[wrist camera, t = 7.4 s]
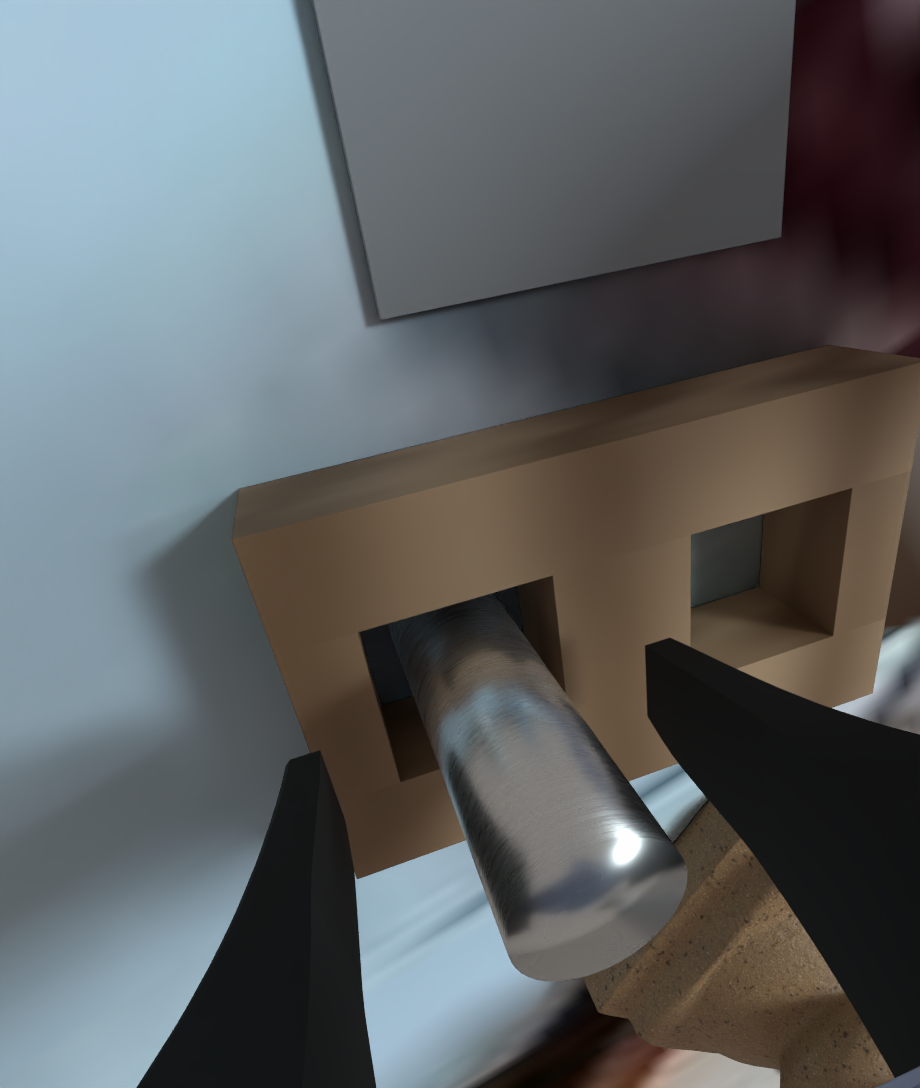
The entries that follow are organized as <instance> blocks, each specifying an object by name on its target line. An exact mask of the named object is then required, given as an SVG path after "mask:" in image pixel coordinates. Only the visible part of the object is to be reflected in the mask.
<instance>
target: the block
mask: <svg viewBox="0 0 920 1088" xmlns="http://www.w3.org/2000/svg"><path fill="white" fill-rule="evenodd" d="M919 423H920V358H914V357H907V356H900V355H893V354H887V353H880V352H873V351H866V350H860V349H853V348H846V347H840V346H833V345H826V346H822V347H818V348H814V349H810V350H806V351H802V352H797V353H793V354H789V355H785V356H781V357H777V358H773V359H769V360H765V361H761V362H757V363H752V364H748V365H744V366H740V367H736V368H732V369H728V370H724V371H720V372H716V373H712V374H707V375H703V376H699V377H695V378H691V379H687V380H683V381H679V382H675V383H671V384H666V385H662V386H658V387H654V388H650V389H646V390H642V391H638V392H634V393H630V394H626V395H621V396H617V397H613V398H609V399H605V400H601V401H597V402H593V403H589V404H585V405H581V406H576V407H572V408H568V409H564V410H560V411H556V412H552V413H548V414H544V415H540V416H535V417H531V418H527V419H523V420H519V421H515V422H511V423H507V424H503V425H499V426H495V427H490V428H486V429H482V430H478V431H474V432H470V433H466V434H462V435H458V436H454V437H450V438H445V439H441V440H437V441H433V442H429V443H425V444H421V445H417V446H413V447H409V448H405V449H400V450H396V451H392V452H388V453H384V454H380V455H376V456H372V457H368V458H364V459H359V460H355V461H351V462H347V463H343V464H339V465H335V466H331V467H327V468H323V469H319V470H314V471H310V472H306V473H302V474H298V475H294V476H290V477H286V478H282V479H278V480H274V481H269V482H265V483H261V484H257V485H253V486H249V487H245V488H241V489H239V492H238V499H237V506H236V513H235V520H234V527H233V534H232V542H233V545H234V548H235V550H236V553H237V556H238V558H239V561H240V564H241V566H242V569H243V572H244V575H245V577H246V580H247V583H248V585H249V588H250V591H251V594H252V596H253V599H254V602H255V604H256V607H257V610H258V612H259V615H260V618H261V621H262V623H263V626H264V629H265V631H266V634H267V637H268V639H269V642H270V645H271V648H272V650H273V653H274V656H275V658H276V661H277V664H278V666H279V669H280V672H281V675H282V677H283V680H284V683H285V685H286V688H287V691H288V694H289V696H290V699H291V702H292V704H293V707H294V710H295V712H296V715H297V718H298V721H299V723H300V726H301V729H302V731H303V734H304V737H305V739H306V742H307V745H308V748H309V750H310V753H313V752H316V751H319V750H320V751H321V754H322V756H323V759H324V762H325V765H326V768H327V770H328V773H329V776H330V779H331V782H332V784H333V787H334V790H335V793H336V795H337V798H338V801H339V804H340V807H341V809H342V812H343V815H344V818H345V821H346V826H347V832H348V837H349V843H350V848H351V854H352V860H353V866H354V872H355V875H356V877H357V879H359V878H362V877H365V876H368V875H371V874H373V873H376V872H379V871H382V870H384V869H387V868H390V867H393V866H395V865H398V864H401V863H404V862H407V861H409V860H412V859H415V858H418V857H420V856H423V855H426V854H429V853H431V852H434V851H437V850H440V849H443V848H445V847H448V846H451V845H454V844H456V843H459V842H462V841H465V840H466V839H465V836H464V833H463V830H462V828H461V825H460V822H459V819H458V817H457V814H456V811H455V809H454V806H453V803H452V800H451V798H450V795H449V792H448V789H447V787H446V784H445V781H444V779H443V776H442V773H441V770H440V768H439V765H438V762H437V760H436V757H435V754H434V751H433V749H432V746H431V743H430V740H429V738H428V735H427V732H426V730H425V727H424V724H423V721H422V719H421V716H420V713H419V710H418V708H417V705H416V702H415V700H414V697H413V696H411V697H408V698H405V699H402V700H398V701H395V702H392V703H389V704H386V705H382V706H381V702H380V699H379V695H378V692H377V688H376V685H375V681H374V678H373V674H372V671H371V668H370V664H369V661H368V657H367V654H366V650H365V647H364V643H363V640H362V636H361V633H360V632H361V631H364V630H368V629H371V628H375V627H378V626H381V625H385V624H388V623H392V622H395V621H399V620H402V619H405V618H409V617H412V616H416V615H419V614H423V613H426V612H429V611H433V610H436V609H440V608H443V607H446V606H450V605H453V604H457V603H460V602H464V601H467V600H470V599H474V598H477V597H481V596H484V595H487V594H491V593H494V592H498V591H501V590H505V589H508V588H511V587H515V586H517V591H518V598H519V605H520V612H521V619H522V626H523V633H524V636H525V637H526V639H527V640H528V642H529V643H530V644H531V646H532V647H533V649H534V650H535V651H536V653H537V654H538V656H539V657H540V658H541V660H542V661H543V663H544V664H545V665H546V667H547V668H548V670H549V671H550V672H551V674H552V675H553V677H554V678H555V679H556V681H557V682H558V684H559V685H560V686H561V688H562V689H563V691H564V692H565V693H566V695H567V696H568V698H569V699H570V700H571V702H572V703H573V705H574V706H575V707H576V709H577V710H578V712H579V713H580V714H581V716H582V717H583V719H584V720H585V721H586V723H587V724H588V726H589V727H590V728H591V730H592V731H593V733H594V734H595V735H596V737H597V738H598V740H599V741H600V742H601V744H602V745H603V747H604V748H605V749H606V751H607V752H608V753H609V755H610V756H611V758H612V759H613V760H614V762H615V763H616V765H617V766H618V767H619V769H620V770H621V772H622V773H623V774H624V776H625V777H626V779H627V780H628V781H631V780H634V779H636V778H639V777H642V776H645V775H647V774H650V773H653V772H656V771H658V770H661V769H664V768H667V767H669V766H672V765H675V764H678V762H677V761H676V760H675V758H674V757H673V756H672V754H671V753H670V751H669V750H668V748H667V747H666V745H665V744H664V742H663V741H662V739H661V738H660V736H659V734H658V733H657V731H656V729H655V728H654V726H653V725H652V723H651V721H650V720H649V718H648V717H647V691H646V663H645V645H648V644H651V643H654V642H657V641H661V640H664V639H667V638H672V639H674V640H677V641H679V642H681V643H683V644H685V645H688V646H690V647H692V648H694V649H696V650H698V651H700V652H702V653H704V654H706V655H709V656H711V657H713V658H715V659H717V660H719V661H721V662H723V663H725V664H727V665H730V666H732V667H734V668H736V669H738V670H740V671H742V672H745V673H747V674H749V675H751V676H753V677H756V678H758V679H760V680H762V681H765V682H767V683H769V684H771V685H774V686H776V687H779V688H781V689H783V690H786V691H788V692H791V693H793V694H796V695H798V696H801V697H803V698H806V699H808V700H811V701H813V702H816V703H818V704H821V705H824V706H827V707H829V708H833V707H836V706H838V705H841V704H844V703H847V702H849V701H852V700H855V699H858V698H860V697H863V696H866V695H869V694H872V693H873V688H874V682H875V676H876V670H877V665H878V659H879V653H880V647H881V642H882V636H883V630H884V624H885V619H886V613H887V607H888V601H889V595H890V590H891V584H892V578H893V572H894V567H895V560H896V555H897V549H898V544H899V537H900V532H901V526H902V521H903V515H904V509H905V503H906V498H907V492H908V486H909V480H910V474H911V469H912V463H913V457H914V451H915V445H916V440H917V434H918V428H919ZM761 514H764V519H763V535H762V551H761V567H760V583H759V587H757V588H754V589H751V590H748V591H744V592H741V593H738V594H735V595H732V596H729V597H725V598H722V599H719V600H716V601H713V602H709V603H706V604H703V605H700V606H697V607H694V608H691V535H693V534H696V533H699V532H703V531H706V530H710V529H713V528H717V527H720V526H723V525H727V524H730V523H734V522H737V521H741V520H744V519H747V518H751V517H754V516H758V515H761Z"/></svg>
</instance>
